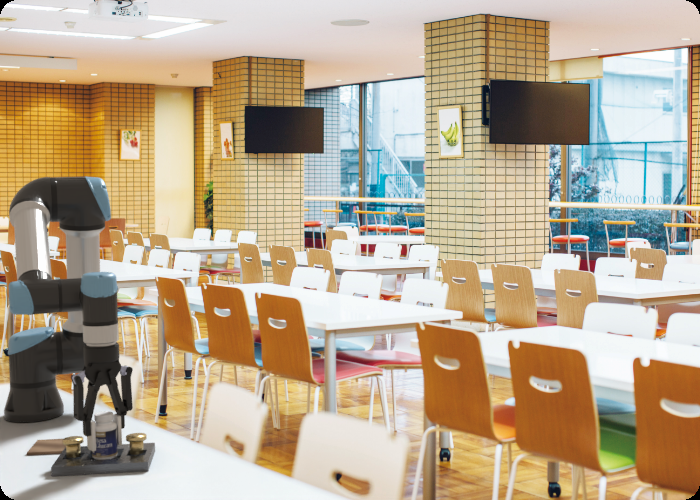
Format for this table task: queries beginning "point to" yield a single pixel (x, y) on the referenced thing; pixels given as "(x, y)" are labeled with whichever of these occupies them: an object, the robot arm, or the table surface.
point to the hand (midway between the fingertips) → (104, 446)
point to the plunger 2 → (136, 442)
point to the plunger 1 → (73, 446)
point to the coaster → (47, 447)
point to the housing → (104, 462)
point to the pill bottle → (105, 436)
